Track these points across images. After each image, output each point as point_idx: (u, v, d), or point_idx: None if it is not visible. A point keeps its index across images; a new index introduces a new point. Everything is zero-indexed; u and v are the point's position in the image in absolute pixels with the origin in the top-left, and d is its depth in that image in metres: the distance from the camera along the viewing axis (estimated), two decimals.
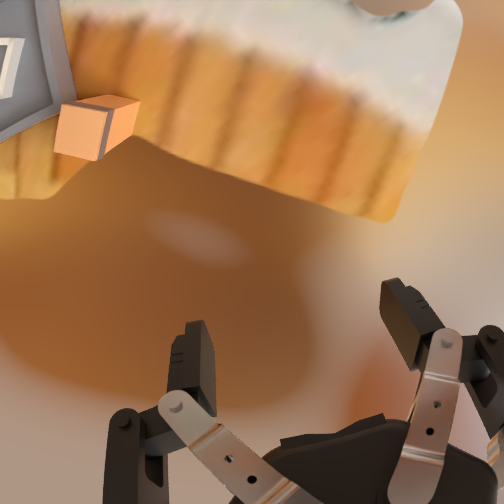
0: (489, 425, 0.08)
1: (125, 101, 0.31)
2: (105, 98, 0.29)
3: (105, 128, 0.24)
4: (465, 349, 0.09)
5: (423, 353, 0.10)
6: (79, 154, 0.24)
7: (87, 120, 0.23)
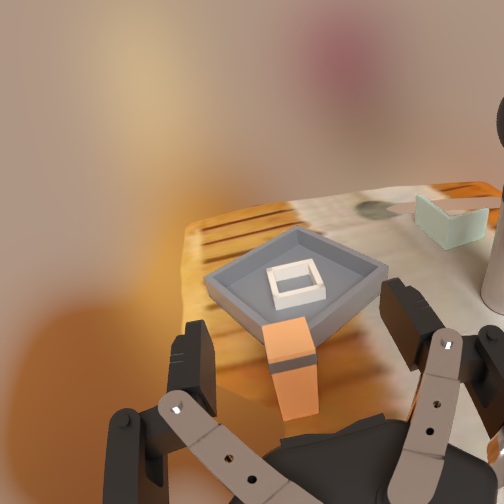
0: (489, 425, 0.08)
1: None
2: None
3: (299, 359, 0.29)
4: (465, 349, 0.09)
5: (423, 353, 0.10)
6: (268, 345, 0.30)
7: (301, 339, 0.29)
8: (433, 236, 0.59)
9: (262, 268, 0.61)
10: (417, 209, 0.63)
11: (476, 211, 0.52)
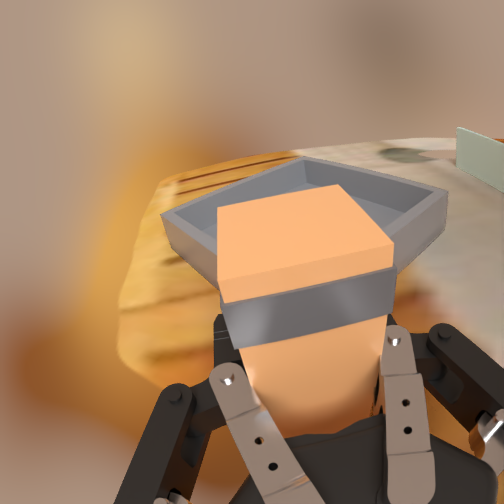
0: (462, 418, 0.08)
1: None
2: None
3: (339, 286, 0.08)
4: (415, 347, 0.10)
5: None
6: (228, 244, 0.09)
7: (339, 225, 0.09)
8: (485, 177, 0.38)
9: None
10: (459, 147, 0.42)
11: None
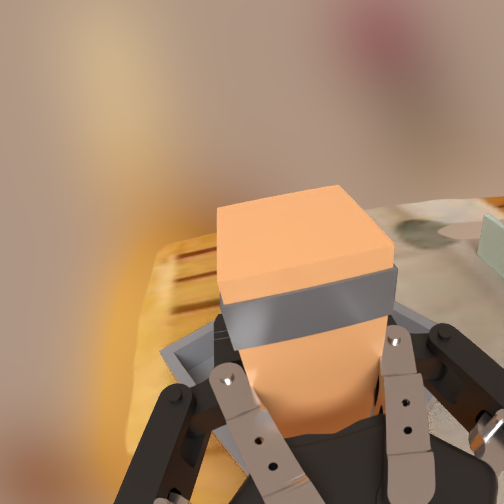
0: (462, 418, 0.08)
1: None
2: None
3: (339, 287, 0.08)
4: (415, 347, 0.10)
5: None
6: (228, 245, 0.09)
7: (339, 225, 0.09)
8: None
9: None
10: (483, 236, 0.39)
11: None
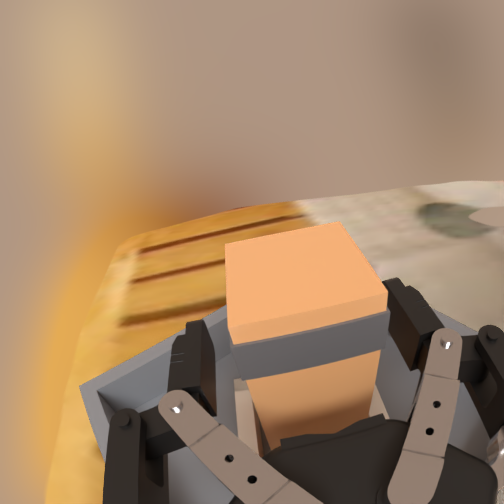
0: (489, 425, 0.08)
1: None
2: None
3: (336, 329, 0.09)
4: (465, 349, 0.09)
5: (423, 353, 0.10)
6: (236, 287, 0.10)
7: (338, 270, 0.09)
8: None
9: (231, 359, 0.24)
10: None
11: None
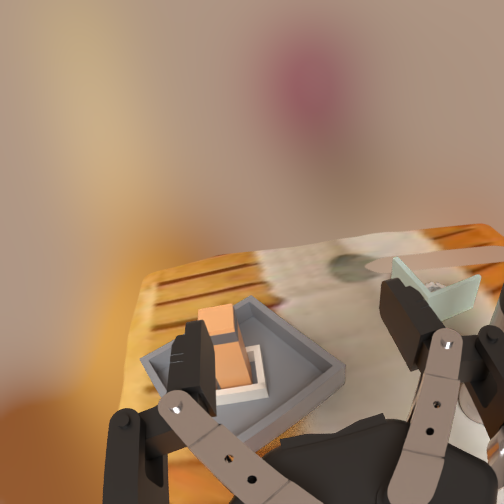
0: (489, 425, 0.08)
1: (248, 370, 0.42)
2: (246, 354, 0.44)
3: (222, 335, 0.37)
4: (465, 349, 0.09)
5: (423, 353, 0.10)
6: None
7: (225, 320, 0.38)
8: None
9: None
10: (393, 274, 0.55)
11: (464, 281, 0.44)
